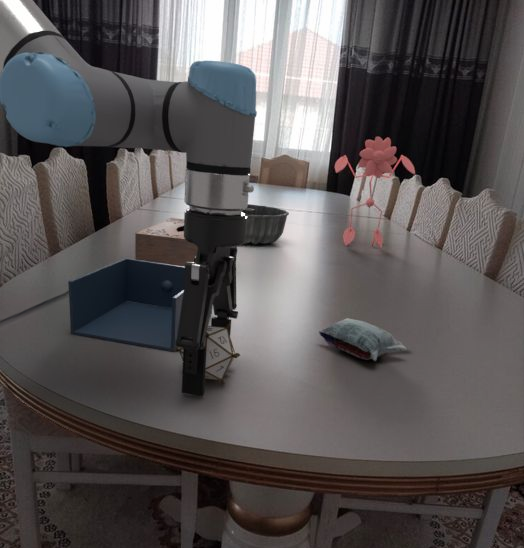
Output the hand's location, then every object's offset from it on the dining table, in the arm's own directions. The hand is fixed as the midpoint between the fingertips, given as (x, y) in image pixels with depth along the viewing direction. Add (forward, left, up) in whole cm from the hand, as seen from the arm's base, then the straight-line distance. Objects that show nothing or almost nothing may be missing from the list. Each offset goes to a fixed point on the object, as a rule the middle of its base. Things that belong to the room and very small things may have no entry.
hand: (206, 376), depth 70 cm
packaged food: (+20, +20, -1) cm, 28 cm away
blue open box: (-16, +22, 0) cm, 27 cm away
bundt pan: (-21, +104, -1) cm, 106 cm away
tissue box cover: (-24, +55, -1) cm, 60 cm away
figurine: (+17, +117, -1) cm, 118 cm away
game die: (0, 0, -1) cm, 1 cm away
